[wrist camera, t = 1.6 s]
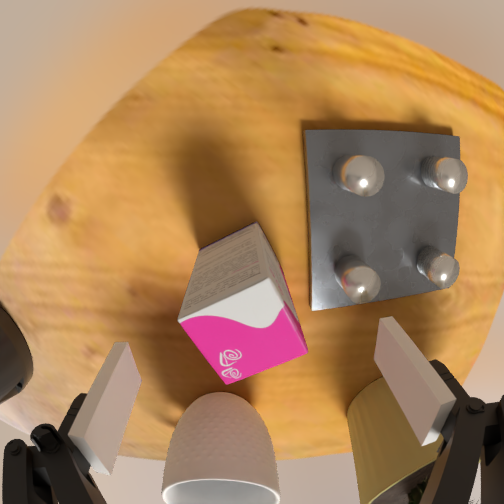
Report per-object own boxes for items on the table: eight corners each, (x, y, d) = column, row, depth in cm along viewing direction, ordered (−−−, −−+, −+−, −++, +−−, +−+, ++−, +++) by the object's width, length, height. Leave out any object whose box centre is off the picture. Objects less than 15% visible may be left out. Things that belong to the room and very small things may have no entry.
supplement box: (196, 250, 27) (173, 318, 16) (257, 219, 26) (274, 271, 15) (227, 303, 29) (225, 388, 18) (285, 275, 28) (315, 352, 17)
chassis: (309, 305, 29) (321, 331, 25) (302, 130, 24) (316, 127, 20) (444, 284, 30) (467, 301, 25) (453, 136, 24) (482, 137, 20)
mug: (214, 456, 37) (212, 533, 24) (145, 424, 34) (126, 507, 22) (287, 402, 33) (306, 495, 21) (210, 360, 31) (202, 465, 18)
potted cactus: (440, 398, 36) (528, 543, 8) (353, 449, 38) (406, 611, 10) (423, 336, 32) (564, 529, 3) (312, 402, 34) (376, 634, 5)
